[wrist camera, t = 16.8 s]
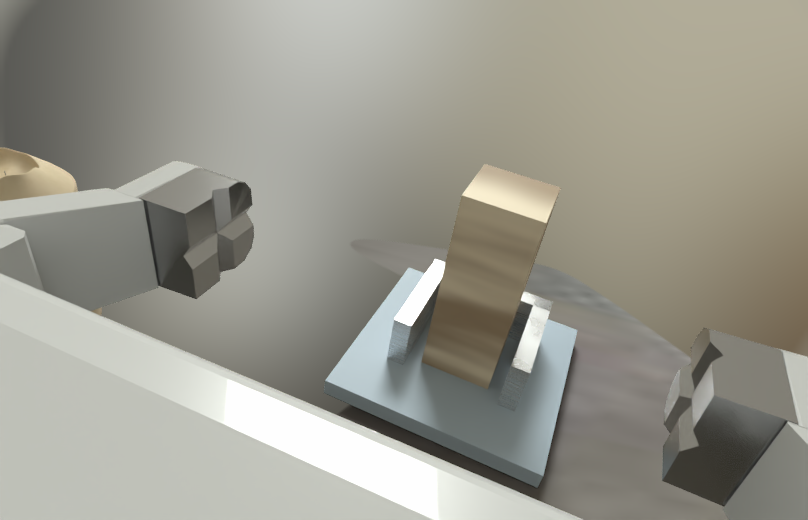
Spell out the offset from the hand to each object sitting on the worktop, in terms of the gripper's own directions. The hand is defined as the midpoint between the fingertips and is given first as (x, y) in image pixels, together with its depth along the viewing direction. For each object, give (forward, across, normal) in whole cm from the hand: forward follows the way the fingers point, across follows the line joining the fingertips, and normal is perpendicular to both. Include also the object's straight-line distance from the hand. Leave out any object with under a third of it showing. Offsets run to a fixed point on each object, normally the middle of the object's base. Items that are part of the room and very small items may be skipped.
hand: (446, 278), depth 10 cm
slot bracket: (+17, +2, +17) cm, 24 cm away
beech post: (+17, +2, +17) cm, 24 cm away
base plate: (+17, +2, +18) cm, 25 cm away
